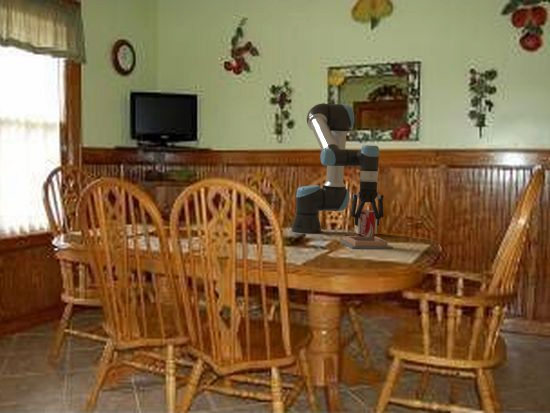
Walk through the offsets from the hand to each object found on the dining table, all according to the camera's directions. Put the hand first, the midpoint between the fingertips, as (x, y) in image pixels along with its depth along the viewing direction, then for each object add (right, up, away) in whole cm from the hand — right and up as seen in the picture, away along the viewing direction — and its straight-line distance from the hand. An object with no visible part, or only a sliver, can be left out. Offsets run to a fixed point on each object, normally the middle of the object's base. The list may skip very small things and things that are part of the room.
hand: (366, 233), depth 254 cm
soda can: (0, -2, 0) cm, 2 cm away
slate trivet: (0, -5, 0) cm, 5 cm away
